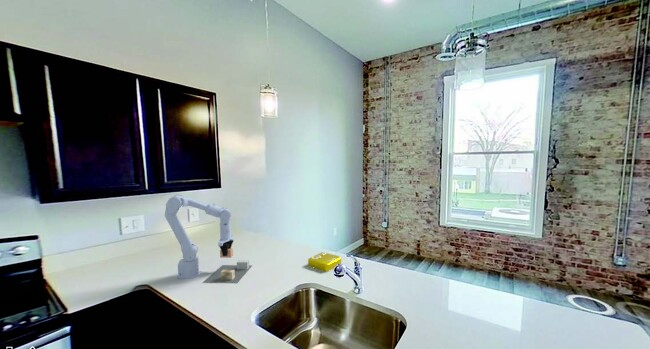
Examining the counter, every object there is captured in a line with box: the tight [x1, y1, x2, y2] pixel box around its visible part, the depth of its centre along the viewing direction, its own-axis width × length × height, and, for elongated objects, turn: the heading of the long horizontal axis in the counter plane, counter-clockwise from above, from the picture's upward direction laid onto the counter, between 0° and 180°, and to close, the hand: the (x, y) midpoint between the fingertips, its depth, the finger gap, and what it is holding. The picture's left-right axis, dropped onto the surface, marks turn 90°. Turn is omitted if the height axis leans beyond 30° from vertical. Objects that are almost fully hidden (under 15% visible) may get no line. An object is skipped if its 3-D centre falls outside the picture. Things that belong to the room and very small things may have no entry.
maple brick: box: [221, 270, 235, 280], centre depth 133 cm, size 6×3×4 cm, turn 86°
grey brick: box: [236, 259, 250, 269], centre depth 146 cm, size 6×3×4 cm, turn 86°
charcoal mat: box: [202, 264, 253, 284], centre depth 139 cm, size 18×22×1 cm
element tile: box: [307, 251, 342, 272], centre depth 151 cm, size 15×15×5 cm
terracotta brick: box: [219, 248, 234, 259], centre depth 144 cm, size 6×3×4 cm, turn 87°
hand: (226, 254), depth 144 cm, fingers closed on terracotta brick, 3 cm apart
